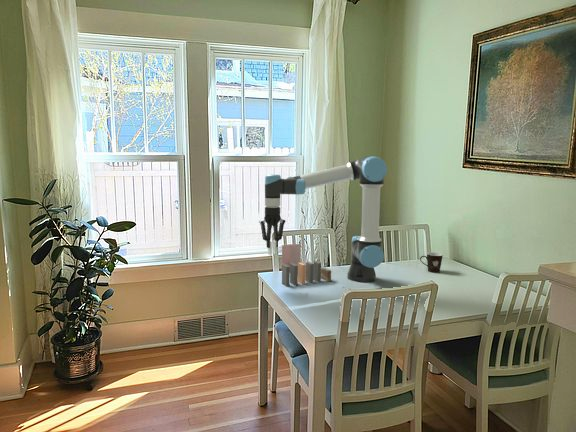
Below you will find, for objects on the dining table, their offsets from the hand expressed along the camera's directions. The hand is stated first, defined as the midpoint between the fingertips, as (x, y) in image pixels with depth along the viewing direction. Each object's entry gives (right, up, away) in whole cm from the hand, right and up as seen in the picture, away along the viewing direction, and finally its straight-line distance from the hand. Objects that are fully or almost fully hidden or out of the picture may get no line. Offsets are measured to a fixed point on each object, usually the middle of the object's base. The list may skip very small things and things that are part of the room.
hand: (272, 254), depth 213 cm
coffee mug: (+90, -13, +36) cm, 98 cm away
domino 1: (+7, -16, +5) cm, 18 cm away
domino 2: (+11, -16, +7) cm, 20 cm away
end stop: (+28, -15, +15) cm, 35 cm away
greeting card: (+11, -13, +30) cm, 35 cm away
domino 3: (+19, -15, +11) cm, 27 cm away
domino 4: (+23, -15, +13) cm, 30 cm away
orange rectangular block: (+15, -16, +9) cm, 23 cm away
